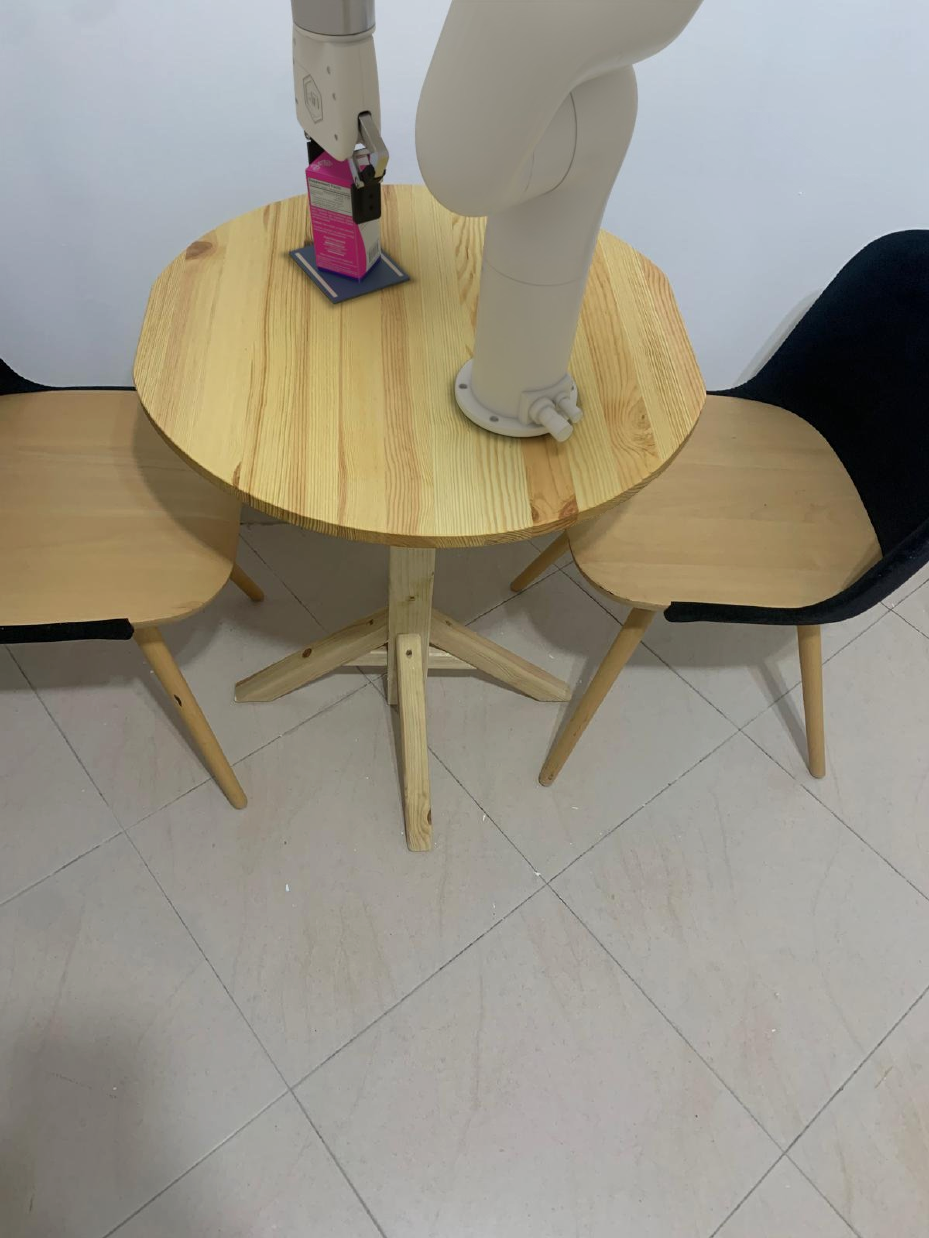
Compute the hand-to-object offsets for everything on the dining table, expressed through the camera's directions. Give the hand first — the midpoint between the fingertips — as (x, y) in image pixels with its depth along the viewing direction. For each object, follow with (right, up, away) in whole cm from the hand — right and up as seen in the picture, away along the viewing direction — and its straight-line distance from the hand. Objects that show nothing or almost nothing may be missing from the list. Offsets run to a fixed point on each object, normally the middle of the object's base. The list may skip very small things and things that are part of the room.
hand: (345, 198), depth 84 cm
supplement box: (-1, -4, +7) cm, 8 cm away
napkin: (-1, -4, +7) cm, 8 cm away
